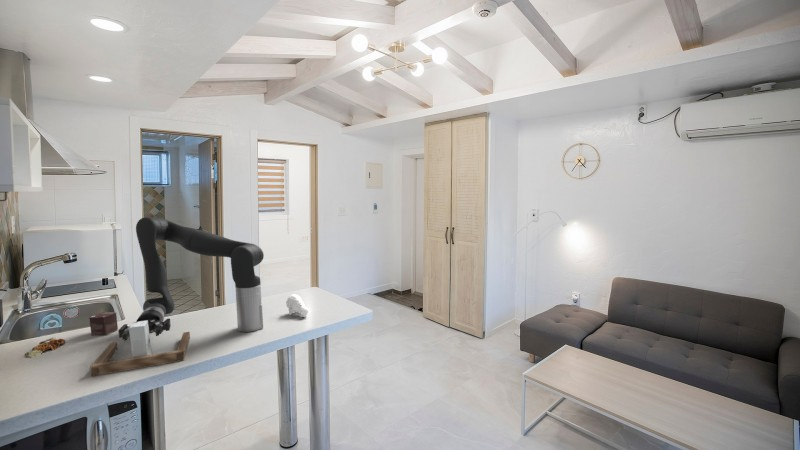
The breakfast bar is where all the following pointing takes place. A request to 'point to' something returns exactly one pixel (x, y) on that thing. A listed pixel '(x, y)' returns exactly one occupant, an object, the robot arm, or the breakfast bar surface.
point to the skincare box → (140, 339)
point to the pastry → (45, 346)
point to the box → (103, 323)
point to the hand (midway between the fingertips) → (141, 335)
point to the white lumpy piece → (296, 305)
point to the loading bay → (137, 358)
